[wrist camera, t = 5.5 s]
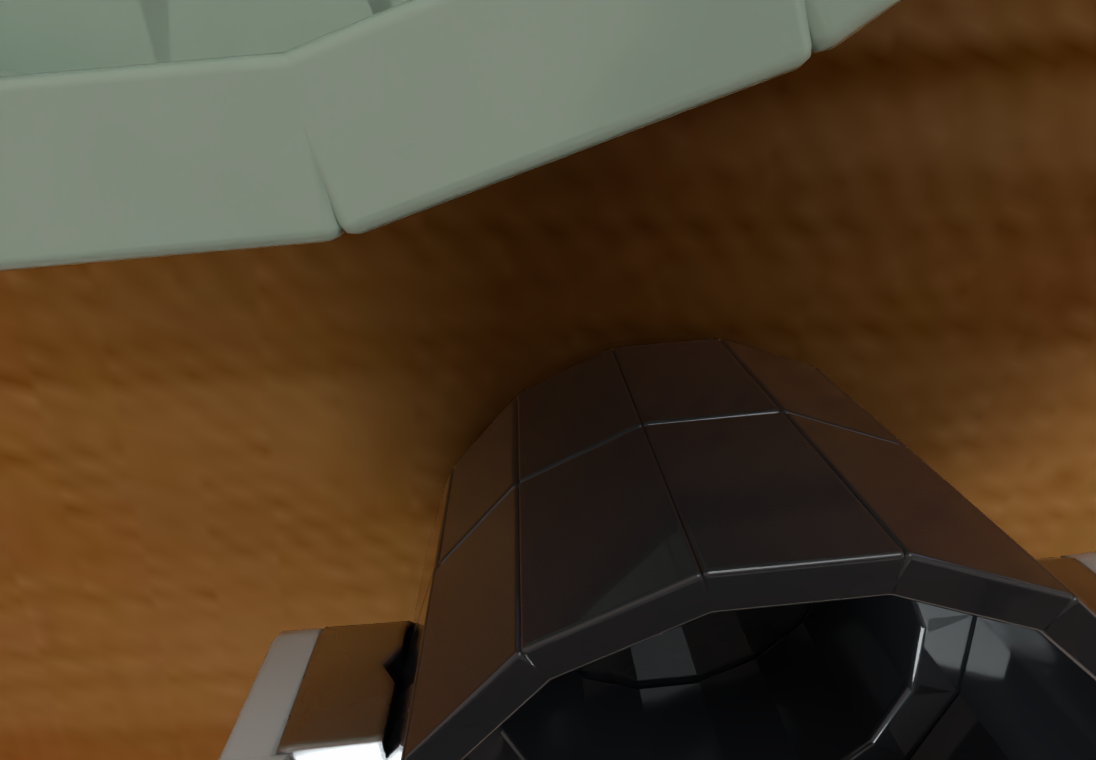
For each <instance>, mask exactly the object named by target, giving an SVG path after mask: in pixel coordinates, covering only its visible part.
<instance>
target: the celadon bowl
mask: <svg viewBox="0 0 1096 760" xmlns="http://www.w3.org/2000/svg"><path fill="white" fill-rule="evenodd" d="M901 1H902V0H0V272H1V271H12V270H23V269H34V268H45V267H56V266H67V265H79V264H90V263H101V262H112V261H123V260H134V259H145V258H156V257H168V256H179V255H190V254H201V253H212V252H223V251H234V250H246V249H257V248H268V247H279V246H290V245H301V244H312V243H323V242H331V241H333V240H335V239H337V238H339V237H340V236H342V235H343V234H344V233H346V232H347V233H348V234H364V233H366V232H369V231H372V230H374V229H377V228H380V227H382V226H385V225H387V224H390V223H393V222H395V221H398V220H401V219H403V218H406V217H409V216H411V215H414V214H417V213H419V212H422V211H424V210H427V209H430V208H432V207H435V206H438V205H440V204H443V203H446V202H448V201H451V200H453V199H456V198H459V197H461V196H464V195H467V194H469V193H472V192H475V191H477V190H480V189H483V188H485V187H488V186H490V185H493V184H496V183H498V182H501V181H504V180H506V179H509V178H512V177H514V176H517V175H520V174H522V173H525V172H527V171H530V170H533V169H535V168H538V167H541V166H543V165H546V164H549V163H551V162H554V161H557V160H559V159H562V158H564V157H567V156H570V155H572V154H575V153H578V152H580V151H583V150H586V149H588V148H591V147H594V146H596V145H599V144H601V143H604V142H607V141H609V140H612V139H615V138H617V137H620V136H623V135H625V134H628V133H631V132H633V131H636V130H638V129H641V128H644V127H646V126H649V125H652V124H654V123H657V122H660V121H662V120H665V119H667V118H670V117H673V116H675V115H678V114H681V113H683V112H686V111H689V110H691V109H694V108H697V107H699V106H702V105H704V104H707V103H710V102H712V101H715V100H718V99H720V98H723V97H726V96H728V95H731V94H734V93H736V92H739V91H741V90H744V89H747V88H749V87H752V86H755V85H757V84H760V83H763V82H765V81H768V80H771V79H773V78H776V77H778V76H781V75H784V74H786V73H789V72H792V71H794V70H797V69H798V68H799V67H801V66H802V65H803V64H804V63H805V62H806V61H807V60H808V59H809V58H810V56H811V54H812V53H818V52H822V51H826V50H830V49H834V48H835V47H836V46H838V45H839V44H841V43H842V42H844V41H845V40H846V39H848V38H849V37H851V36H852V35H854V34H855V33H856V32H858V31H859V30H861V29H862V28H864V27H865V26H866V25H868V24H869V23H871V22H872V21H874V20H875V19H876V18H878V17H879V16H881V15H882V14H884V13H885V12H886V11H888V10H889V9H891V8H892V7H894V6H895V5H896V4H898V3H899V2H901Z"/></svg>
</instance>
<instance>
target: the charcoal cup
mask: <svg viewBox="0 0 1096 760" xmlns="http://www.w3.org/2000/svg"><path fill="white" fill-rule="evenodd" d="M386 760H1096V612H1095V611H1093V610H1092V609H1091V608H1090V607H1089V606H1088V605H1087V604H1086V603H1085V602H1084V601H1083V600H1082V599H1080V598H1079V597H1078V596H1077V595H1076V594H1075V593H1074V592H1073V591H1071V590H1070V589H1069V588H1068V587H1067V586H1066V585H1065V584H1063V583H1062V582H1061V581H1060V580H1059V579H1058V578H1057V577H1055V576H1054V575H1053V574H1052V573H1051V572H1050V571H1049V570H1047V569H1046V568H1045V567H1044V566H1043V565H1042V564H1041V563H1039V562H1038V561H1037V560H1036V559H1035V558H1034V557H1033V556H1031V555H1030V554H1029V553H1028V552H1027V551H1026V550H1025V549H1023V548H1022V547H1021V546H1020V545H1019V544H1018V543H1017V542H1015V541H1014V540H1013V539H1012V538H1011V537H1010V536H1009V535H1007V534H1006V533H1005V532H1004V531H1003V530H1002V529H1001V528H999V527H998V526H997V525H996V524H995V523H994V522H993V521H991V520H990V519H989V518H988V517H987V516H986V515H985V514H983V513H982V512H981V511H980V510H979V509H978V508H977V507H975V506H974V505H973V504H972V503H971V502H970V501H969V500H967V499H966V498H965V497H964V496H963V495H962V494H961V493H959V492H958V491H957V490H956V489H955V488H954V487H953V486H951V485H950V484H949V483H948V482H947V481H946V480H945V479H943V478H942V477H941V476H940V475H939V474H938V473H937V472H935V471H934V470H933V469H932V468H931V467H930V466H929V465H927V464H926V463H925V462H924V461H923V460H922V459H921V458H919V457H918V456H917V455H916V454H915V453H914V452H913V451H911V450H910V449H909V448H908V447H907V446H906V445H905V444H903V443H902V442H901V441H900V440H899V439H898V438H897V437H895V436H894V435H893V434H892V433H891V432H890V431H889V430H887V429H886V428H885V427H884V426H883V425H882V424H881V423H879V422H878V421H877V420H876V419H875V418H874V417H873V416H871V415H870V414H869V413H868V412H867V411H866V410H865V409H863V408H862V407H861V406H860V405H859V404H858V403H857V402H855V401H854V400H853V399H852V398H851V397H850V396H849V395H847V394H846V393H845V392H844V391H843V390H842V389H841V388H839V387H838V386H837V385H836V384H835V383H834V382H833V381H831V380H830V379H829V378H828V377H827V376H826V375H825V374H823V373H822V372H821V371H820V370H819V369H817V368H814V367H813V366H811V365H808V364H805V363H802V362H798V361H795V360H792V359H788V358H785V357H782V356H778V355H775V354H772V353H769V352H765V351H762V350H759V349H755V348H752V347H749V346H745V345H742V344H739V343H736V342H732V341H729V340H726V339H720V340H719V339H717V338H710V339H699V340H688V341H677V342H666V343H656V344H645V345H634V346H623V347H616V348H614V349H613V350H612V349H608V350H606V351H604V352H602V353H600V354H598V355H595V356H593V357H591V358H589V359H587V360H585V361H583V362H581V363H579V364H577V365H575V366H573V367H571V368H569V369H567V370H565V371H563V372H561V373H559V374H557V375H555V376H553V377H551V378H549V379H547V380H545V381H543V382H540V383H538V384H536V385H534V386H532V387H530V388H528V389H526V390H524V391H522V392H520V393H519V394H518V399H517V398H516V399H514V400H513V401H511V402H510V403H509V404H508V406H507V407H506V408H505V409H504V410H503V411H502V412H501V413H500V414H499V416H498V417H497V418H496V419H495V420H494V421H493V422H492V423H491V424H490V426H489V427H488V428H487V429H486V430H485V431H484V432H483V433H482V434H481V436H480V437H479V438H478V439H477V440H476V441H475V442H474V443H473V445H472V446H471V447H470V448H469V449H468V450H467V451H466V452H465V453H464V455H463V456H462V457H461V458H460V459H459V460H458V461H457V462H456V464H455V467H454V468H453V469H452V471H451V472H450V473H449V477H448V480H447V483H446V487H445V490H444V493H443V496H442V500H441V503H440V506H439V510H438V513H437V516H436V519H435V523H434V526H433V529H432V533H431V536H430V539H429V542H428V547H427V552H426V557H425V562H424V568H423V573H422V578H421V583H420V588H419V593H418V599H417V604H416V609H415V614H414V619H413V624H412V630H411V635H410V640H409V645H408V650H407V658H406V661H405V665H404V669H403V675H402V680H401V685H400V690H399V695H398V701H397V706H396V711H395V716H394V721H393V727H392V732H391V737H390V742H389V747H388V752H387V757H386Z"/></svg>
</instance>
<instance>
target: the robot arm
mask: <svg viewBox="0 0 1096 760" xmlns="http://www.w3.org/2000/svg"><path fill="white" fill-rule="evenodd" d="M1036 560H1037V561H1038V562H1039V563H1041V564H1042V565H1043V566H1044V567H1045V568H1046V569H1047V570H1049V571H1050V572H1051V573H1052V574H1053V575H1054V576H1055V577H1057V578H1058V579H1059V580H1060V581H1061V582H1062V583H1063V584H1065V585H1066V586H1067V587H1068V588H1069V589H1070V590H1071V591H1073V592H1074V593H1075V594H1076V595H1077V596H1078V597H1079V598H1080V599H1082V600H1083V601H1084V602H1085V603H1086V604H1087V605H1088V606H1089V607H1090V608H1091V609H1092V610H1093V611H1095V612H1096V552H1090V553H1081V554H1073V555H1064V556H1061V557H1050V558H1041V559H1036ZM412 624H413V623H412V622H411V621H403V622H390V623H376V624H362V625H349V626H335V627H326V628H325V629H307V630H293V631H282V632H281V633H280V634H279V635H278V636H277V637H276V638H275V639H274V640H273V641H272V643H271V645H270V647H269V650H268V652H267V654H266V656H265V658H264V661H263V663H262V665H261V667H260V669H259V672H258V674H257V676H256V678H255V680H254V683H253V685H252V687H251V689H250V692H249V694H248V696H247V698H246V700H245V703H244V705H243V707H242V709H241V711H240V714H239V716H238V718H237V720H236V722H235V725H234V727H233V729H232V731H231V733H230V736H229V738H228V740H227V742H226V745H225V747H224V749H223V751H222V753H221V756H220V758H219V760H386V757H387V752H388V747H389V742H390V737H391V732H392V727H393V721H394V716H395V711H396V706H397V701H398V695H399V690H400V685H401V680H402V675H403V669H404V665H405V661H406V658H407V650H408V645H409V640H410V635H411V630H412Z"/></svg>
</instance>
